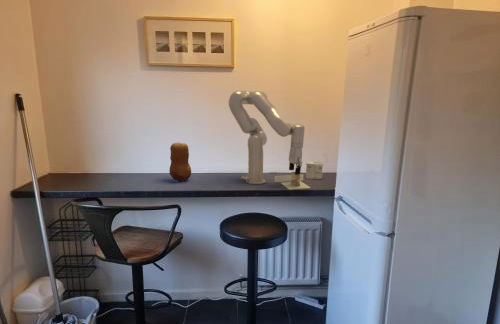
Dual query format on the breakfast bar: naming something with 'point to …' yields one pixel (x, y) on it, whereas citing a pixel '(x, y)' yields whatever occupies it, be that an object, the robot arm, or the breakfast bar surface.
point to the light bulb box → (314, 170)
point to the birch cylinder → (295, 179)
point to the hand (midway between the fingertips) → (294, 172)
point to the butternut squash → (179, 162)
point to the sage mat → (290, 187)
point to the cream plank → (285, 178)
